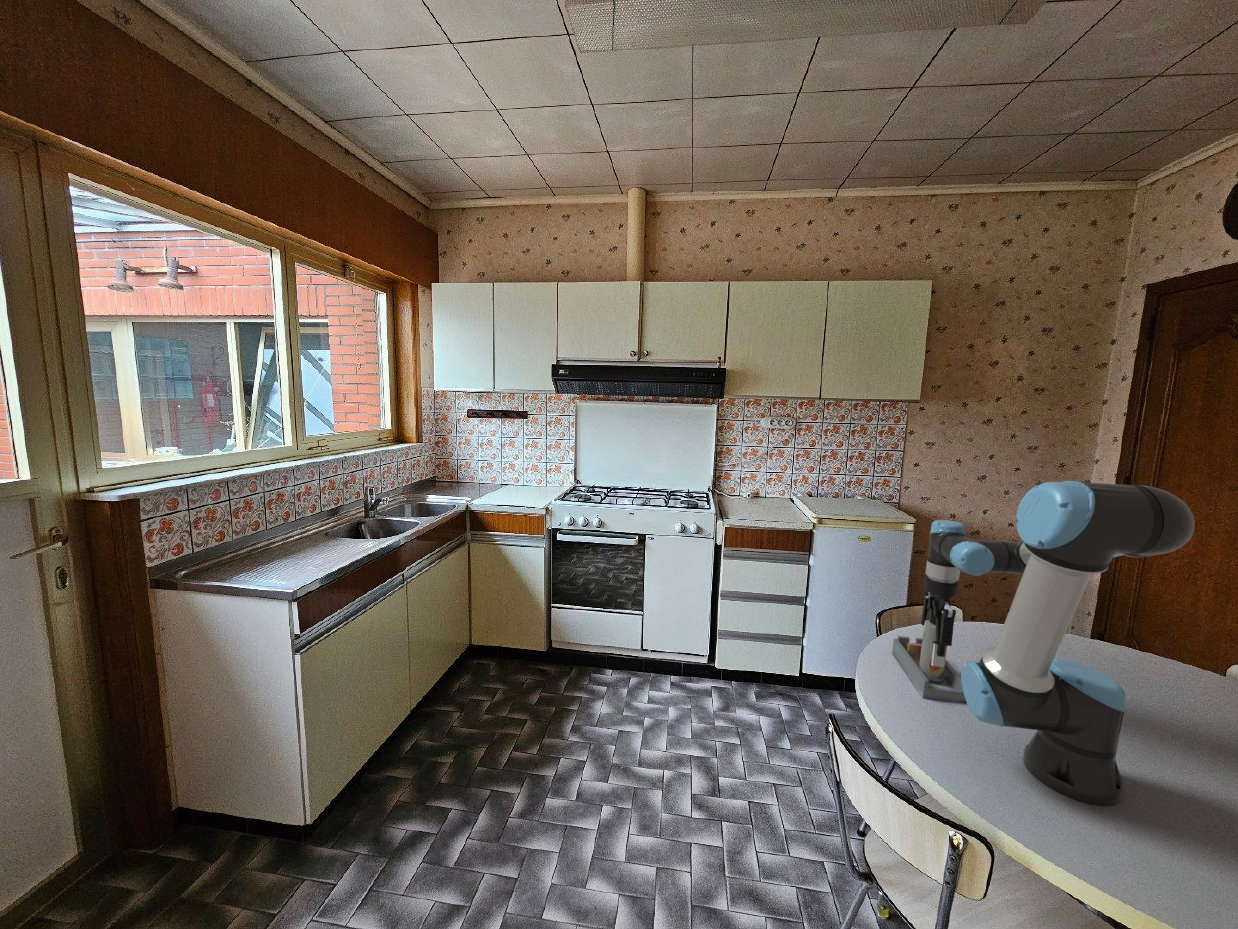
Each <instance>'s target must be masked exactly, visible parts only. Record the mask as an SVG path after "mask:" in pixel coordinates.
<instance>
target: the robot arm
mask: <svg viewBox="0 0 1238 929" xmlns="http://www.w3.org/2000/svg"><path fill="white" fill-rule="evenodd" d="M1015 516H1016V518H1015V519H1016V520H1018V521H1017V522H1016V524H1015V525H1016V527H1015V528H1016V531H1017V533H1018V536H1019V538H1020V539H1021V540H1022V541H1015V542H1013V541H1002V540H1001V541H1000V540H986V539H973V538H972V539H971V538H969V537H967V536H966V535H967V533H966V526H965V524H963V523H962V522H960V521H954V520H950V519H949V520H948V519H936V520H933V522H932V523H931V527H930V532H929V541H928V542H929V543H928V550H927V552H928V553H927V560H926V565H925V566H926V567H925V575H926V576H925V577H924V584H923V585H924V592H923V606H922V614H921V619H920V621H921V622H920V625H921V626H923V629H924V623H925V621H926V620H929V614H930V607H931V606H932V607H933V608H934V616H935V617H936V641H933V643H934V646H933V654H932V663H931V665H932V666H936V667H944V660H946V659H945V652H946V653H947V651H946V646H947V647H952V644H953V636H954V634H953V633H954V623H955V618H956V614H957V610H956V609H952V607H951V606H952V604H951V599H952V598H953V597H956V596H958V592H959V582H958V581H959V580H960V573H961V571H962V572H963V573H966V575H971V576H975V577H976V576H977V577H978V576H982V575H985V574H987V573H1001V574H1004V573H1006V574H1016V575H1022V576H1021V579H1020V582H1019V584H1018V587H1017V589H1016V592H1015V594H1014V597H1013V600H1012V603H1011V605H1010V608H1009V611H1008V614H1007V616H1006V619H1005V621H1004V623H1003V626H1002V629H1001V631H1000V634H999V637H998V639H997V641H996V642H997V643H996V646H991V647H988V648H986V649H985V650H984V651H983V653H982V655H981V658H980V660H979V662H975V661H969V662H968V661H967V662H965V663H963V666H962V668H961V672H960V675H961V676H960V677H961V682H962V688H963V692H964V696H965V699H966V704H967V705H968V708H969V709H970V711H971V713H972V714H973V715H974V717H975V718H977V719H978V720H979V721H980V722H983V723H984V724H988V725H993V726H999V727H1005V728H1006V727H1007V728H1016V729H1023V730H1024V729H1026V730H1033V731H1034V730H1035V731H1036V732H1035V733H1034V735H1033V736H1032V737H1031V739H1030V741H1029V742H1028V744H1026V745H1025V747H1024V749H1023V750H1024V751H1023V757H1022V761H1023V764H1024V766H1025V768H1026V769H1027V770H1028V772H1029V773H1030V774H1031V775H1032V776H1033V777H1035V779H1037V781H1039V782H1040V783H1042V784H1044V785H1045V786H1047V787H1049V788H1050V789H1052V790H1054V791H1056V792H1058V793H1059V794H1061V795H1063V796H1065V797H1067V798H1070V799H1073V800H1075V801H1079V802H1081V803H1085V804H1088V805H1093V806H1097V807H1113V806H1116V805H1118V804H1120V803H1121V801H1122V798H1123V793H1124V792H1123V791H1124V786H1123V781H1122V778H1121V774H1120V770H1119V766H1118V763H1117V758H1116V756H1117V751H1118V744H1119V741H1120V740H1119V739H1120V735H1121V734H1120V733H1121V730H1122V729H1121V728H1122V723H1123V718H1124V714H1125V713H1126V710H1127V709H1126V697H1127V695H1126V691H1125V690H1124V688H1123V687H1122V685H1120V684H1119V683H1118V682H1117V681H1115V680H1114V679H1112V678H1111V677H1109V676H1108V675H1106V674H1104V673H1102V672H1100V671H1097V670H1095V669H1093V668H1090V667H1088V666H1085V665H1082V664H1080V663H1076V662H1073V661H1069V660H1064V659H1056V658H1055V657H1056V655H1057V653H1058V651H1059V648H1060V646H1061V644H1062V642H1063V639H1064V637H1065V635H1066V632H1067V630H1068V628H1069V627H1070V623H1071V622H1072V620H1073V617H1074V614H1075V612H1076V610H1077V608H1078V606H1079V604H1080V602H1081V599H1082V597H1083V595H1084V593H1085V590H1086V588H1087V586H1088V583H1089V582H1090V579H1091V578H1092V575H1096V574H1101V573H1104V572H1106V571H1108V569H1109V566H1110V564H1111V562H1112V560H1113V559H1114V558H1117V557H1121V556H1126V557H1130V558H1136V559H1137V558H1141V559H1142V558H1147V557H1152V556H1158V555H1165V554H1169V553H1172V552H1174V551H1177V550H1179V549H1181V548H1182V547H1183V546H1184V545H1186V544H1187V543H1188V542H1189V541H1190V540H1191V538H1192V536H1193V535H1194V532H1195V518H1194V515H1193V513H1192V511H1191V509H1190V508H1189V506H1188V505H1187V504H1186V503H1185V501H1183V500H1182V499H1181V498H1179V497H1178V496H1176V495H1175V494H1173V493H1172V492H1169V491H1167V490H1165V489H1162V488H1158V487H1154V486H1149V485H1144V484H1121V483H1120V484H1119V483H1118V484H1116V483H1102V482H1101V483H1100V482H1099V483H1098V482H1097V483H1096V482H1081V481H1075V480H1064V481H1048V482H1043V483H1041V484H1038V485H1035V486H1033V487H1032V488H1031V489H1030V490H1028V491H1027V492H1026V494H1025V495H1024V496H1023V497H1022V498H1021V500H1020V503H1019V505H1018V508H1017V510H1016V514H1015ZM938 613H939V614H938ZM940 614H942V615H940Z"/></svg>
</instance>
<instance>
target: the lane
mask: <svg viewBox="0 0 1238 929" xmlns="http://www.w3.org/2000/svg"><path fill="white" fill-rule="evenodd" d="M922 639H923V637H915V641H914V643H915V644H922ZM910 640H911V639H910V637H909V636H904V635H897V638H893V640H892V641H893V642H892V652H891V654H892V656H893V657H894V659H895V661H896V662H897V663H898V665H899V667H900V668H901V669H902V670H903V672H904V674H905V675H906V676H907V678H908V679H909V681H910V682H911V684H912V685H913V686H914V688H915V689H916V692H918V694H919V696H920V697H921V698H922V699H923V700H924V699H925V700H931V699H932V700H933V701H940V700H942V701H943V702H949V701H950V702H951V703H959V704H967V701H966V699H965V696H964V692H963V688H962V682H961V676H960V675H959V673H958V672H957V671H956V670H955V669H954V668H953V667H952V666H951V664H950V663H948V661H947V660H946V659H945V668H944V676H943V680H942V681H940V682H934V681H929V680H928V679H927V678H926V676H925V675H924V674H923V672H922V671H921V670H920V668H919V666H918V665H917V664H916V663H915V662H914V660H913V659H912V658H911V656H910V655H909V654H908V652H907V645H908V643H910ZM932 700H931V701H932Z"/></svg>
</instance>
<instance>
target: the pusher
mask: <svg viewBox="0 0 1238 929" xmlns="http://www.w3.org/2000/svg"><path fill="white" fill-rule="evenodd" d="M921 648H922V644H915V642H909V643H908V645H907V652H908V654H909V655H910V656H911V658H912V659H913V660H914V662H915V663H916V664H917V665H918V666H919V665H920V657H921Z"/></svg>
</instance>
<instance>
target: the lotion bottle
mask: <svg viewBox="0 0 1238 929" xmlns="http://www.w3.org/2000/svg"><path fill="white" fill-rule="evenodd" d="M938 614H939V613H938ZM940 615H942V614H940ZM923 627H924V628H923V632H922V633H923V634H922V638H923V639H922V648H921V657H920V665H919V668H920V670H921V671H922V672H923V674H924V675H925V676H926V678H927V679H928V680H929V681H934V682H940V681H942V680H943V676H944V668H945V660H946V657H947V651H948V650H947V649H948V646H946V652H945V660H944V667H936V666H932V665H931V663H932V654H933V646H934V643H933V641H936V617H935V616H934V608H933V607H932V606H931V607H930V614H929V620H926V621H925V623H924V625H923Z"/></svg>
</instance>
